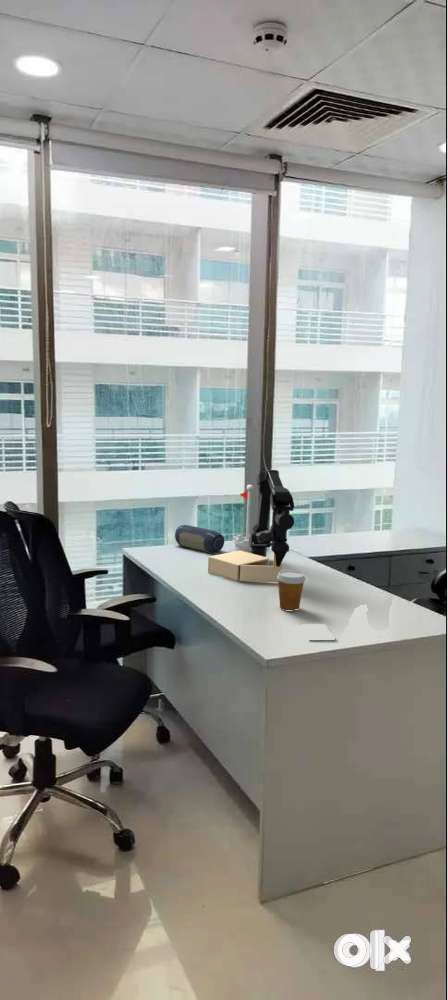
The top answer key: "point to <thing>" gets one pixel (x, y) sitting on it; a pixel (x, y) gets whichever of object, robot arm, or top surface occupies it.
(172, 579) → the top surface
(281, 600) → the disposable coffee cup
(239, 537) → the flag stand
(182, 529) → the portable speaker
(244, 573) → the carton flap
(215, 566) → the carton
